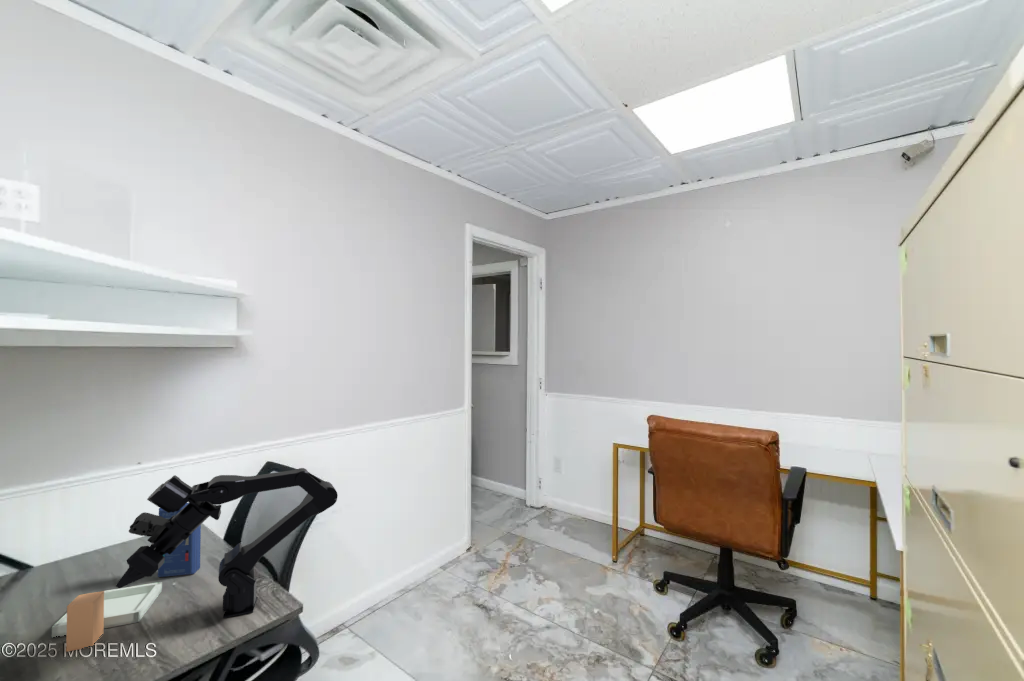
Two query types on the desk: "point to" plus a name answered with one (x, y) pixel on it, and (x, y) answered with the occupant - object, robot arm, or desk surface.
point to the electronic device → (182, 553)
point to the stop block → (85, 620)
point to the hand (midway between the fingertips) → (127, 576)
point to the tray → (121, 606)
